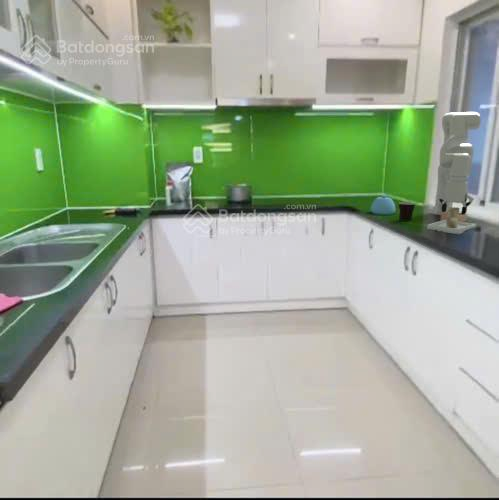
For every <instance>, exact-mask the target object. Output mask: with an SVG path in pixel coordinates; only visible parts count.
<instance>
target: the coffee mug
mask: <svg viewBox="0 0 499 500" xmlns="http://www.w3.org/2000/svg"><path fill="white" fill-rule="evenodd" d="M415 205H416V204H415V203H414V202H407V201H406V202H404V201H402V202H398V220H399V222H405V223H406V222H407V223H408V222H409V221H411V220H412V219H413V218H412V217H413V214H414V210H415V207H416V206H415Z"/></svg>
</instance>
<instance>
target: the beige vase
mask: <svg viewBox="0 0 499 500" xmlns="http://www.w3.org/2000/svg"><path fill="white" fill-rule="evenodd" d="M460 208H461V207H455V206H452V207H449V208H448V216H447V224H446V227H449V228H457V224H458V216H459V213H460Z"/></svg>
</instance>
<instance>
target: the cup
mask: <svg viewBox="0 0 499 500" xmlns="http://www.w3.org/2000/svg"><path fill="white" fill-rule="evenodd" d="M467 215H468V214H467V213H465V214H464V215H461V212H459V216H458V221H459V222H466V221H467ZM447 216H448V212H446V213H442V214H441V215H440V221H443V220H447Z"/></svg>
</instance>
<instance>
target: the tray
mask: <svg viewBox="0 0 499 500" xmlns="http://www.w3.org/2000/svg"><path fill="white" fill-rule="evenodd" d="M446 224H447V220H443V221H435V222H432V223H429V224H427V230H429V229H430V230H429V231H435V230H437V231H436V232H441V231H442V232H441V233H449V234H452V235H460V234H464V233H467V232H468V230H470V229H473V228H476V227H477V223H473V222H472V223H471V222H466V221H465V222H459V221H458V224H457V228H449V227H446Z"/></svg>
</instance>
